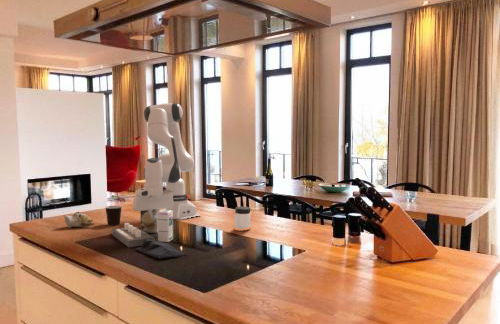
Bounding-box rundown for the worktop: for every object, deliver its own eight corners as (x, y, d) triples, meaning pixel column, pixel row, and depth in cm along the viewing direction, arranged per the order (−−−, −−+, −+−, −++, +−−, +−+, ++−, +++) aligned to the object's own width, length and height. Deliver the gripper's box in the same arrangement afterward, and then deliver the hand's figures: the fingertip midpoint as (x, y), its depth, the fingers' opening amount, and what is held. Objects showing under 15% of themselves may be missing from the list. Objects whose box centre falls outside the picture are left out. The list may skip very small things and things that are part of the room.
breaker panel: (135, 232, 216) (135, 225, 216) (153, 243, 195) (153, 236, 195) (112, 234, 210) (112, 228, 209) (128, 247, 188) (128, 240, 188)
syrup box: (168, 242, 198) (168, 212, 197) (157, 241, 199) (157, 211, 198) (173, 239, 203) (173, 209, 202) (162, 238, 205) (162, 209, 204)
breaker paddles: (127, 228, 211) (127, 222, 210) (141, 237, 194) (140, 230, 194) (124, 229, 210) (124, 223, 209) (137, 237, 193) (137, 231, 193)
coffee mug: (118, 226, 228) (118, 208, 227) (103, 226, 228) (103, 208, 227) (125, 221, 240) (125, 204, 239) (110, 221, 240) (110, 204, 239)
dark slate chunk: (154, 263, 168) (154, 251, 168) (133, 250, 185) (133, 239, 185) (188, 256, 177) (188, 245, 177) (164, 244, 195) (164, 234, 194)
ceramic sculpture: (64, 210, 227) (93, 209, 234) (63, 225, 228) (92, 225, 234) (64, 214, 217) (95, 213, 224) (64, 230, 218) (94, 229, 225)
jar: (253, 230, 224) (253, 208, 223) (241, 232, 219) (242, 209, 218) (243, 227, 231) (243, 205, 230) (231, 229, 226) (231, 207, 225)
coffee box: (139, 232, 215) (139, 202, 214) (142, 229, 222) (142, 200, 220) (157, 232, 216) (157, 202, 214) (159, 229, 222) (159, 200, 221)
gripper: (170, 188, 215) (170, 215, 216) (131, 191, 204) (132, 219, 205) (175, 190, 210) (175, 217, 211) (136, 193, 198) (136, 221, 199)
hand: (153, 218), depth 208 cm, fingers closed
